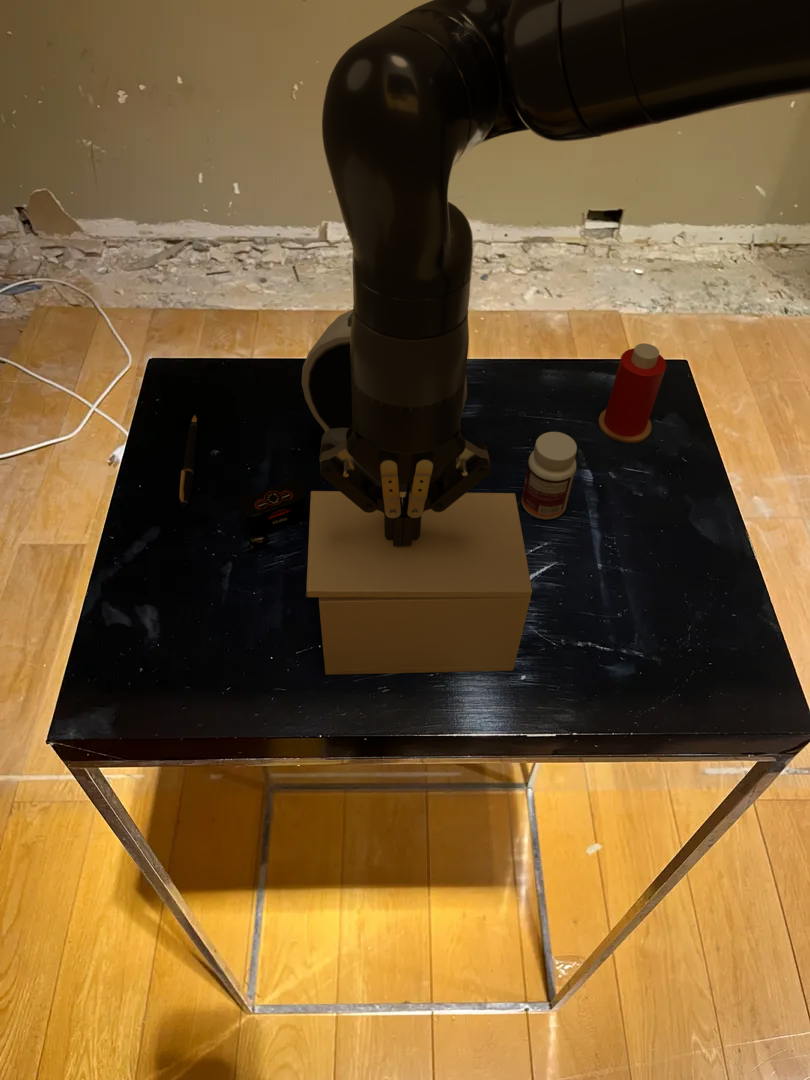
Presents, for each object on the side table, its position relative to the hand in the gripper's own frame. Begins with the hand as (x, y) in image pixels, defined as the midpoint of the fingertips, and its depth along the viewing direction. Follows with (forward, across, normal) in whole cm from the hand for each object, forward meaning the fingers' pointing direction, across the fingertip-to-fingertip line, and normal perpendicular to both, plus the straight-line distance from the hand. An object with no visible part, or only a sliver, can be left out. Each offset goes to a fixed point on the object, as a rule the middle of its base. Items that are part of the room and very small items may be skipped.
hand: (402, 538), depth 67 cm
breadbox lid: (+1, +1, 0) cm, 2 cm away
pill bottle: (+12, +16, +15) cm, 25 cm away
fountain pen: (+12, -22, +21) cm, 33 cm away
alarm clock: (+12, -1, +22) cm, 25 cm away
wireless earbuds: (+12, -12, +12) cm, 21 cm away
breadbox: (+12, +2, 0) cm, 12 cm away
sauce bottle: (+12, +27, +27) cm, 40 cm away
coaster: (+12, +27, +27) cm, 40 cm away
